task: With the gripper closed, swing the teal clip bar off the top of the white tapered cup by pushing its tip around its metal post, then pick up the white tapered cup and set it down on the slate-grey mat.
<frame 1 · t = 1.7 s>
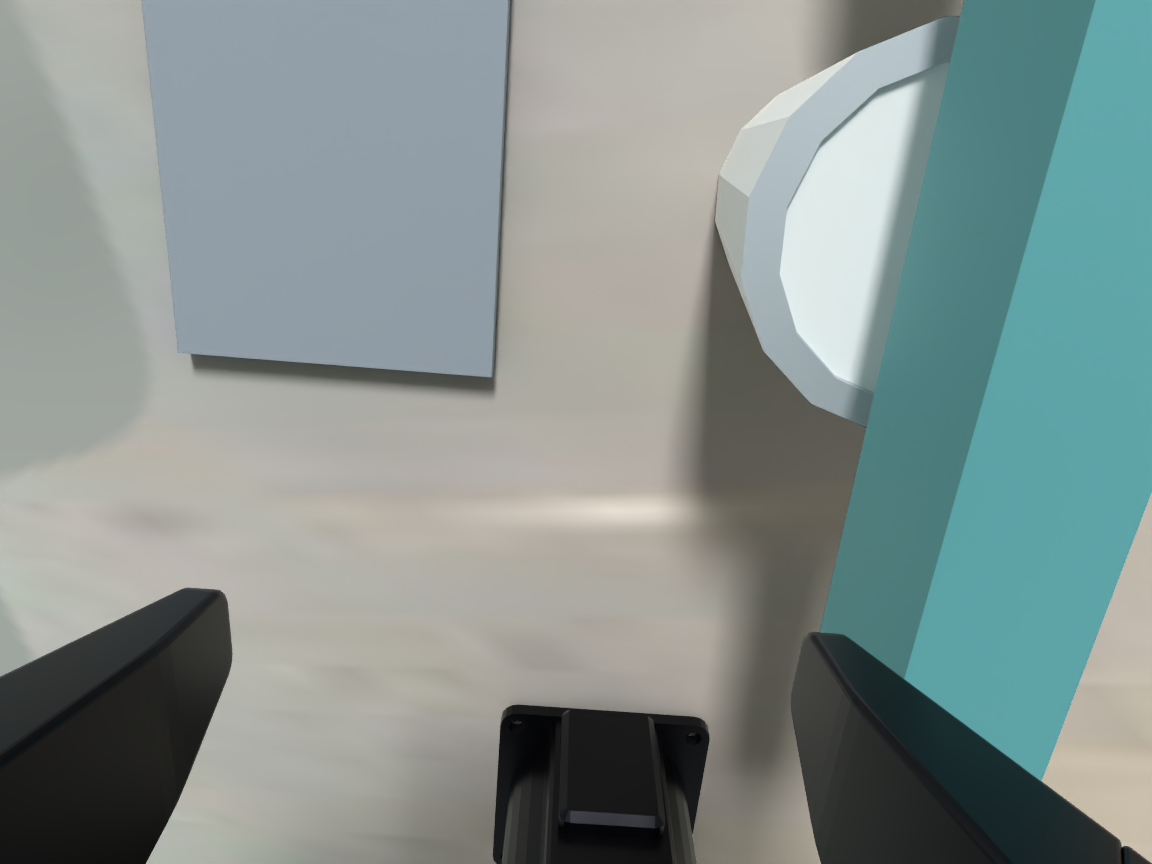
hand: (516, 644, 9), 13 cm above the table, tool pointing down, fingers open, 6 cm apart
white tapered cup: (827, 199, 20), on the table
clip bar: (1112, 36, 10), point 10 cm above the table, hinge at 0.0°
slate mat: (335, 114, 19), on the table
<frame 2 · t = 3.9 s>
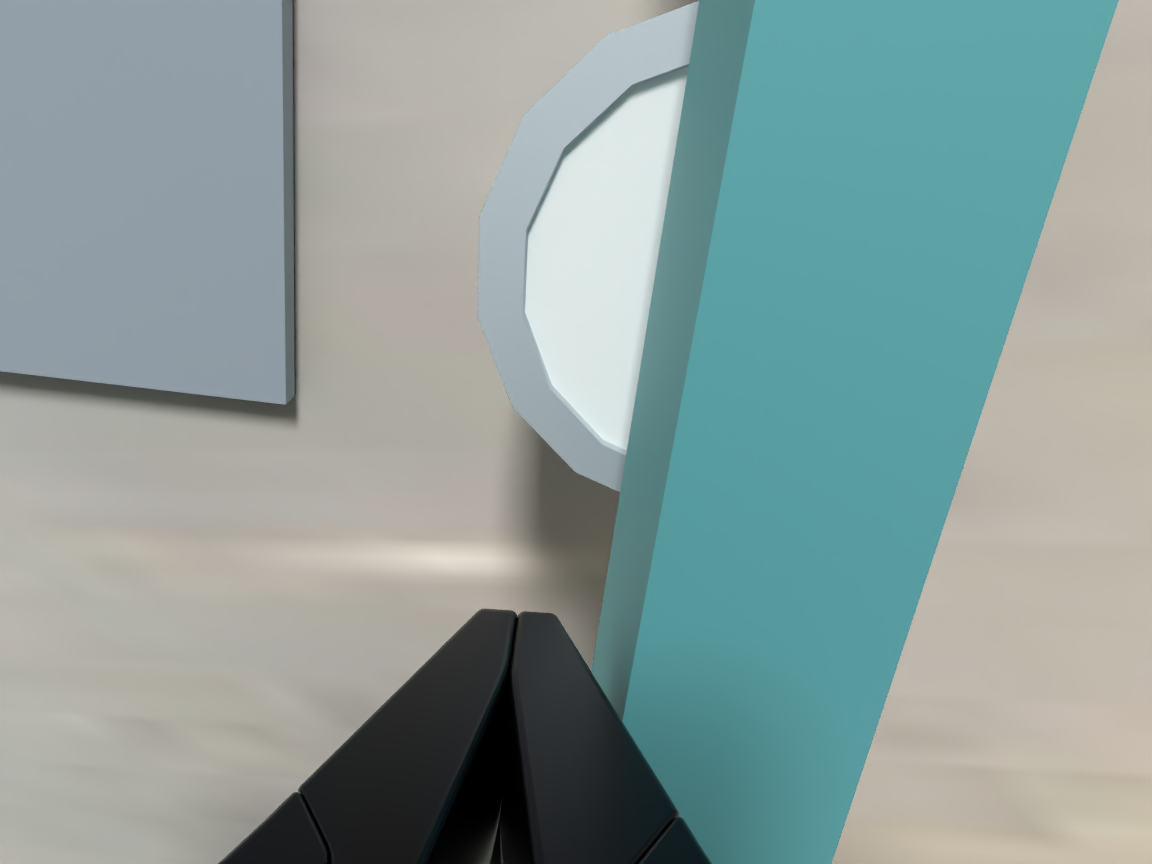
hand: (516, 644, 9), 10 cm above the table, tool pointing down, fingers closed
white tapered cup: (675, 216, 17), on the table
clip bar: (860, 19, 7), point 10 cm above the table, hinge at 0.0°, touching gripper
slate mat: (91, 90, 16), on the table
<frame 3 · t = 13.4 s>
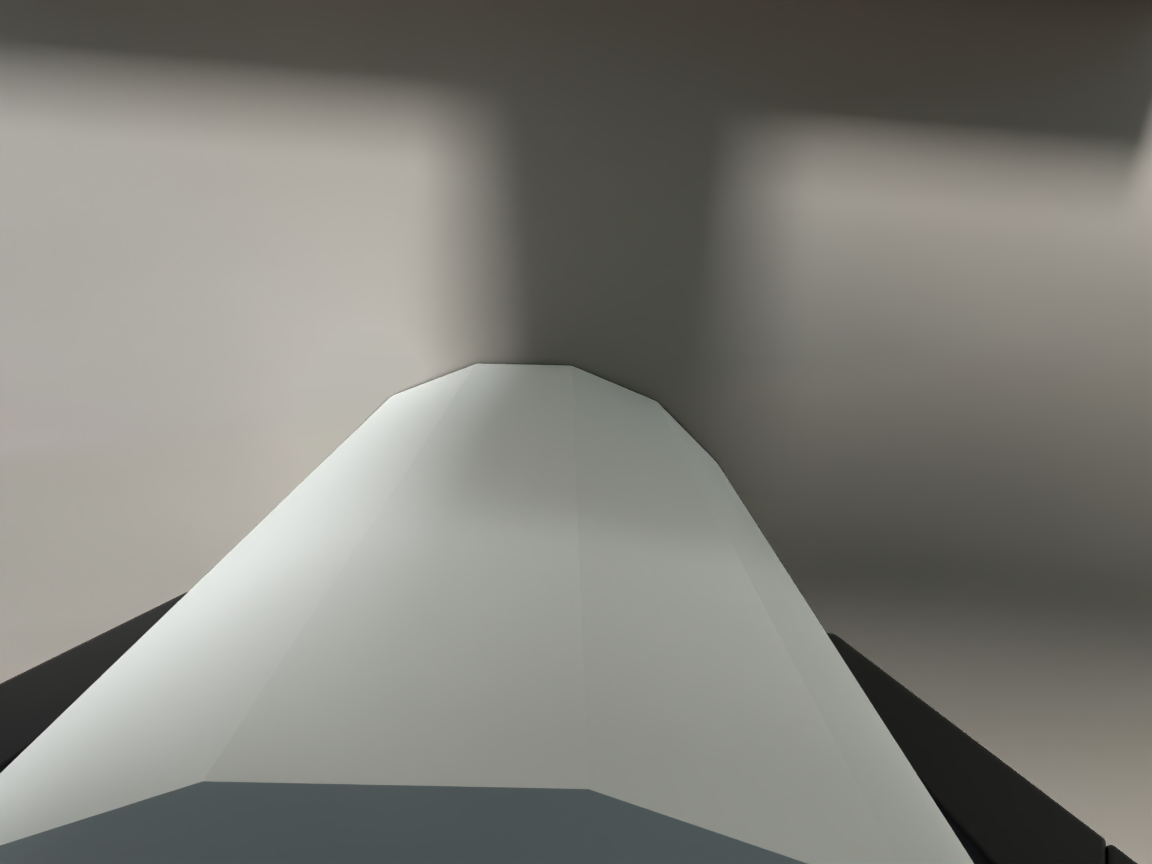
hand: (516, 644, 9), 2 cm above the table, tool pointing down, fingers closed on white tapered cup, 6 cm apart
white tapered cup: (525, 562, 11), on the table, touching gripper
when the fingers open (4 cm above the table, at t = 18.0 s): white tapered cup stays where it is, resting on slate mat.
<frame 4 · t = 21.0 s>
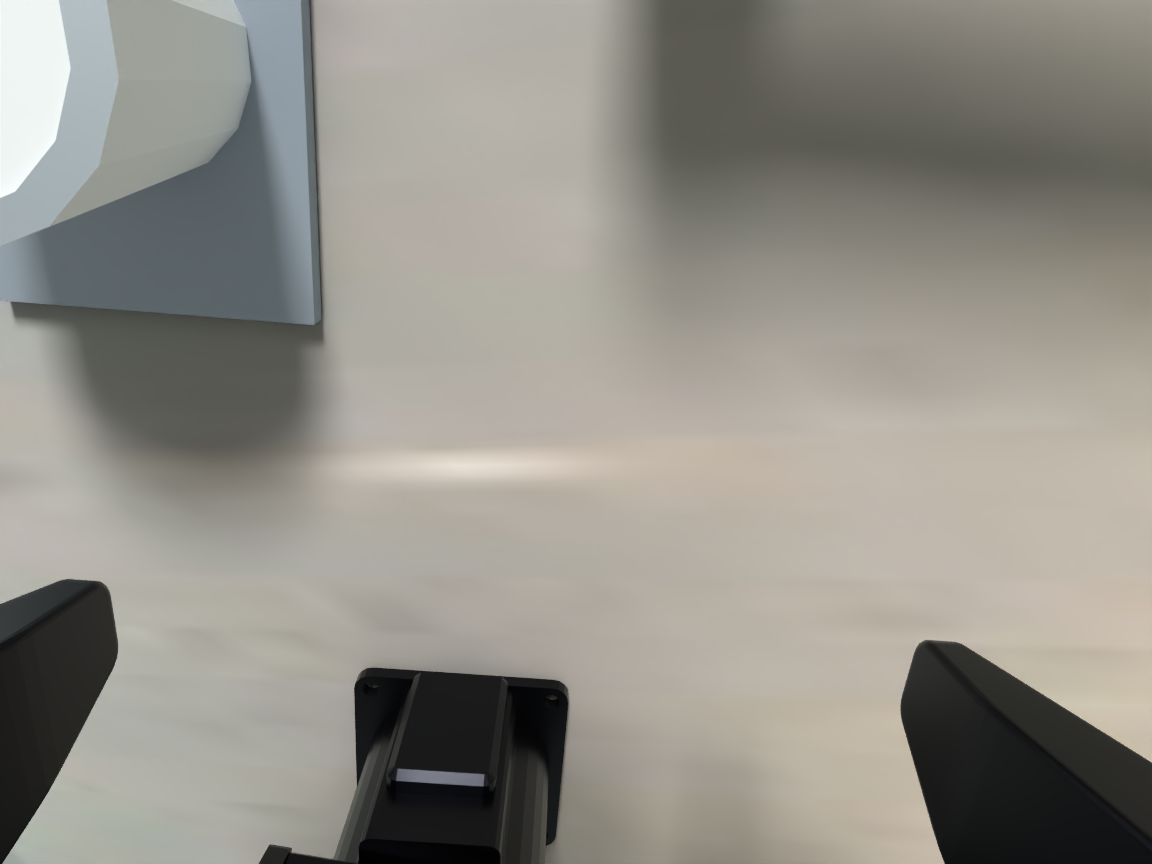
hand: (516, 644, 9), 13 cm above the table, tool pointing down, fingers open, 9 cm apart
white tapered cup: (129, 49, 18), resting on slate mat
slate mat: (136, 50, 19), on the table
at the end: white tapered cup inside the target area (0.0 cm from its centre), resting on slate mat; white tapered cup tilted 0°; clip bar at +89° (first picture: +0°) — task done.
